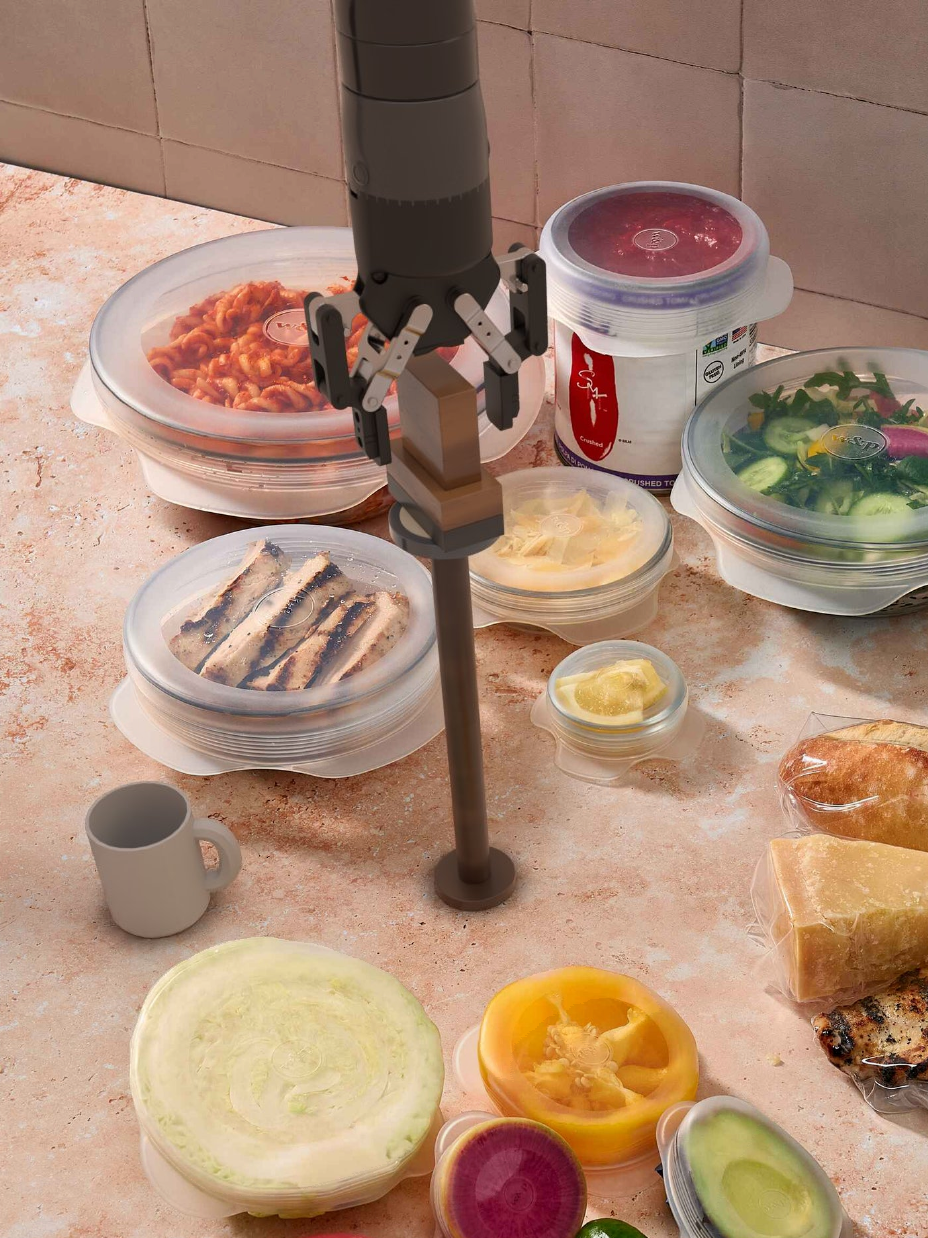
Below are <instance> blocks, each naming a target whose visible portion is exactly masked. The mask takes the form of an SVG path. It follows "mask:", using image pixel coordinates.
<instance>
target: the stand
mask: <svg viewBox="0 0 928 1238" xmlns="http://www.w3.org/2000/svg"><path fill="white" fill-rule="evenodd" d="M429 566H430V575H431V587H432V596H433V609H434V619H435V630H436V641H437V643H436V644H437V652H438V662H439V663H438V665H439V674H440V675H439V677H440V686H441V698H442V707H443V708H442V709H443V718H444V731H445V742H446V753H447V763H448V775H449V782H450V783H449V786H450V795H451V808H452V819H453V830H454V840H455V849H453V850H451V851H449V852H447V853H446V854H445V855H444V856H442V857H441V858H440V860H439V861H438V862H437V864H436V865H435V868H434V872H433V881H434V888H435V889H434V890H435V892H436V894H437V895H438V897H439V899H441V900H442V901H443V902H444V903H445V904H447V905H448V906H450V907H452V908H454V909H457V910H462V911H467V912H468V911H469V912H479V911H485V910H489V909H491V908H495V907H497V906H498V905H500V904H502V903H504V902H505V901H506V900H508V898H509V897H510V896H511V895H512V893H513V892H514V890H515V887H516V882H517V878H516V868H515V867H516V866H515V864H514V861H513V860H512V859H511V857H510V856H509V855H508V854H506V853H505V852H504V851H503V850H500V849H498V848H496V847H493V846H491V845H490V839H489V827H488V812H487V798H486V797H487V796H486V783H485V769H484V757H483V755H484V754H483V744H482V743H483V741H482V729H481V713H480V700H479V686H478V685H479V684H478V672H477V659H476V645H475V644H476V643H475V629H474V618H473V617H474V616H473V603H472V602H473V601H472V589H471V587H472V586H471V573H470V560H469V556H467V557H463V558H457V559H443V560H442V559H429Z"/></svg>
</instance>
